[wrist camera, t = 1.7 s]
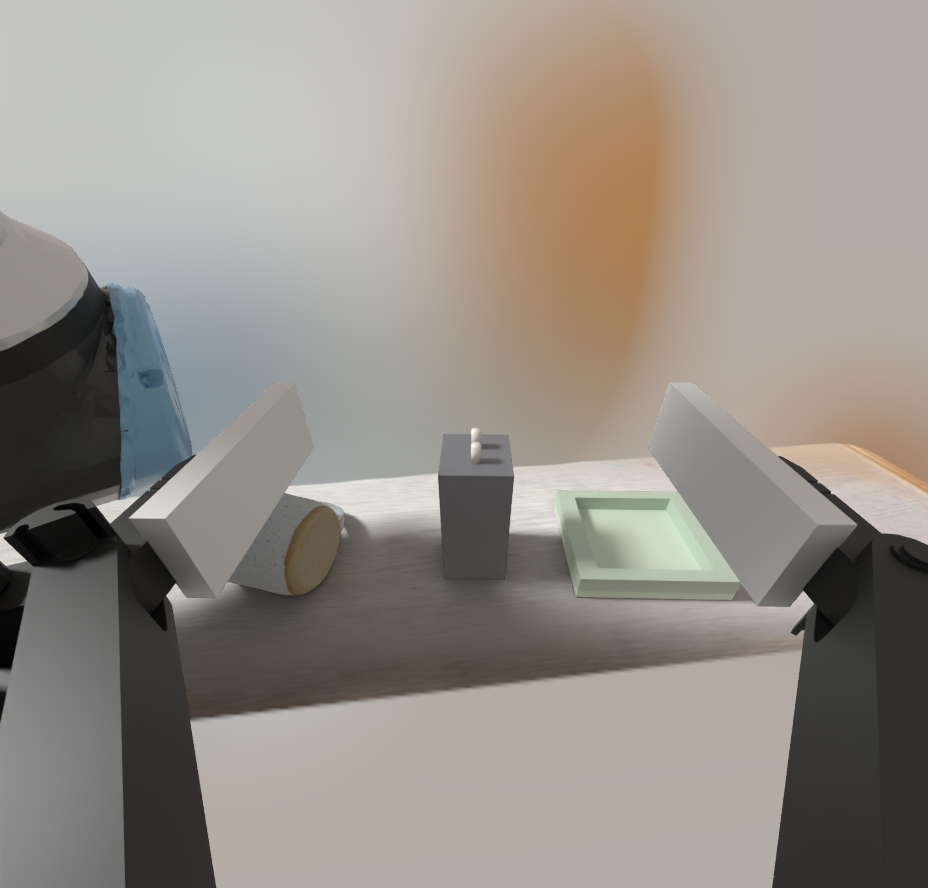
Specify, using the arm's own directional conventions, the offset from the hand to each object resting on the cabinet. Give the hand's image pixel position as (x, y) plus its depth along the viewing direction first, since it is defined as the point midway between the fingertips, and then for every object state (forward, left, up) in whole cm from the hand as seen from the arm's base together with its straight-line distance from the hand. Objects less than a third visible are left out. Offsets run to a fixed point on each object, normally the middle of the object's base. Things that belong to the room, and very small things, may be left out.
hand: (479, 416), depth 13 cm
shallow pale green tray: (+14, +11, -20) cm, 26 cm away
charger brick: (0, +10, -20) cm, 22 cm away
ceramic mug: (-16, +9, -20) cm, 27 cm away
